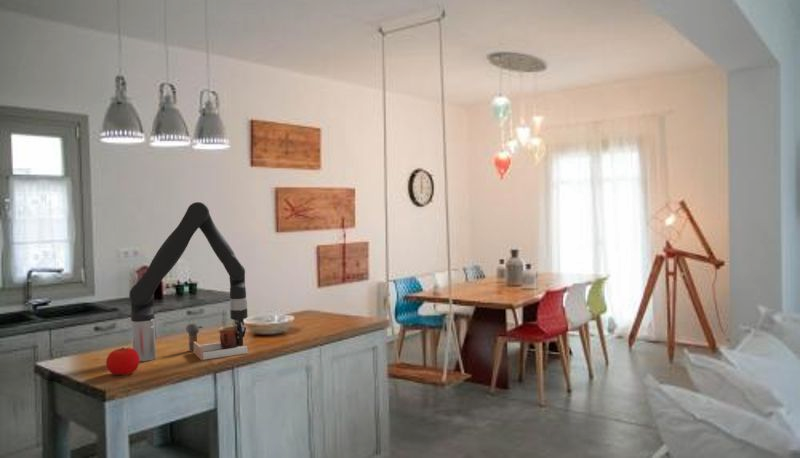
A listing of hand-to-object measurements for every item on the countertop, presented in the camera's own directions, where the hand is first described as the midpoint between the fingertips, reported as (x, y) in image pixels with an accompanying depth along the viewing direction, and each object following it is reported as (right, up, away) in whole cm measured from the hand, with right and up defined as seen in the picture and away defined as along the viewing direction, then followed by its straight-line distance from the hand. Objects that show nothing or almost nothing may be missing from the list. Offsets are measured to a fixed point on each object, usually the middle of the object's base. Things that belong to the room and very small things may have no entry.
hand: (240, 345), depth 270 cm
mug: (-5, -2, -3) cm, 6 cm away
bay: (-7, -2, -4) cm, 9 cm away
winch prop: (-21, -2, +2) cm, 21 cm away
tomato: (-37, -5, -35) cm, 51 cm away
